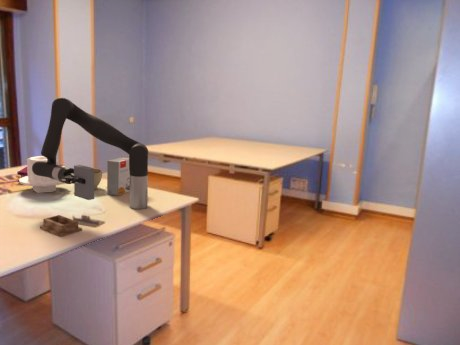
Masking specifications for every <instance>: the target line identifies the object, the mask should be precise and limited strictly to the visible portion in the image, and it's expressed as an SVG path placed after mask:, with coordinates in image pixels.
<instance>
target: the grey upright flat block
mask: <svg viewBox="0 0 460 345" xmlns="http://www.w3.org/2000/svg"><path fill="white" fill-rule="evenodd" d="M73 169H74V175H76V176H77V177H79V178H83V179H85V184H81V183H74V184H73V186H74V197H77V198H80V199H84V200H88V201H91V200H94V199H95V189H94V169H95V168H94V167H91V166H87V165H82V164H76V165H73Z"/></svg>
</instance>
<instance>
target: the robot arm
mask: <svg viewBox="0 0 460 345" xmlns="http://www.w3.org/2000/svg"><path fill="white" fill-rule="evenodd" d="M66 120H69V121H71V122H73V123H75V124H77V125H78V126H79V127H80V128H82V129H83V130H84V131H86V132H87V133H88V134H90V135H91V136H92V137H94V138H95V139H97V140H99V141H101V142H102V143H105V144H107V145H110V146H113V147H116V148H118V149H119V150H120V149H121V150H122V151H123V152H125V153H127V154H128V158H129V171H130V192H129V208H130V209H134V210H142V209H148V202H149V201H148V196H149V195H148V193H149V192H148V191H149V190H148V186H149V185H148V181H149V178H148V177H149V169H148V166H149V149H148V147H147V146H146V145H145V144H143V143H141V142H140V141H137V140H135V139H133V138H130V137H129V136H128V135H126V134H124V133H123V132H122V131H120V130H119V129H117V128H116V127H114V126H112V125H111V124H110V123H108V122H106V121H105V120H103V119H101V118H99V117H97V116H95V115H92V114H90V113H88V112H86V111H85V110H83V109H81V107H79V106H77V105H76V104H75V103H73V101H71V100H70V99H68V98H65V97H57V98H56V99H54V100H53V101H52V103H51V110H50V118H49V123H48V127H47V131H46V136H45V137H44V140H43V144H42V147H41V151H40V154H41V155H40V156H44V157H46V158H47V162H43V161H37V162H35V163H34V164H33V166H32V171H33V173H34V174H35V175H38V176H43V177H49V178H51V179H54V180H57V181H59V182H63V183H62V184H66V185H71V184H72V185H74V183H81V184H85V179H83V178H79V177H77V176H76V175H74V167H69V166H65V165H62V166H59V165H60V164H59V165H56V157H57V155H58V151H59V148H60V144H61V142H62V141H61V140H62V133H63V128H64V125H65V123H66Z"/></svg>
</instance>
